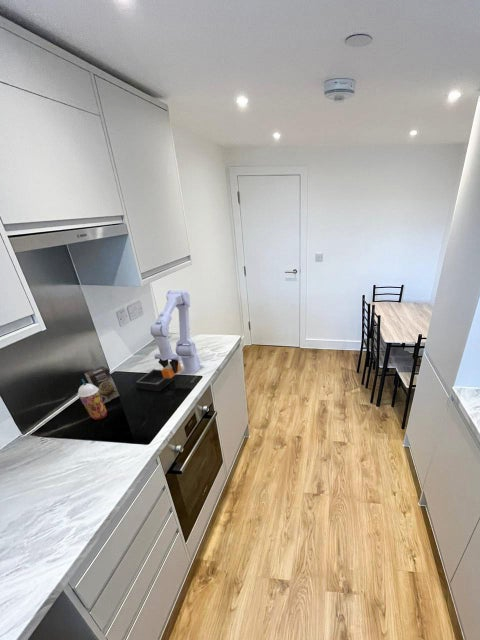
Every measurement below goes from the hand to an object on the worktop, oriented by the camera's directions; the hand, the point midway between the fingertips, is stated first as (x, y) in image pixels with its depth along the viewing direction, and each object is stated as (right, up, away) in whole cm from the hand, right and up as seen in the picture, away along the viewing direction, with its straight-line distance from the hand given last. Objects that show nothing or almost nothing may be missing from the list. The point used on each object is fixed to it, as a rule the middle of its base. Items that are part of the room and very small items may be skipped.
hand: (172, 371), depth 168 cm
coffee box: (-31, -14, -3) cm, 34 cm away
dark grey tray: (-11, -6, +8) cm, 14 cm away
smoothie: (-27, -22, -16) cm, 39 cm away
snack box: (0, -1, +1) cm, 1 cm away
